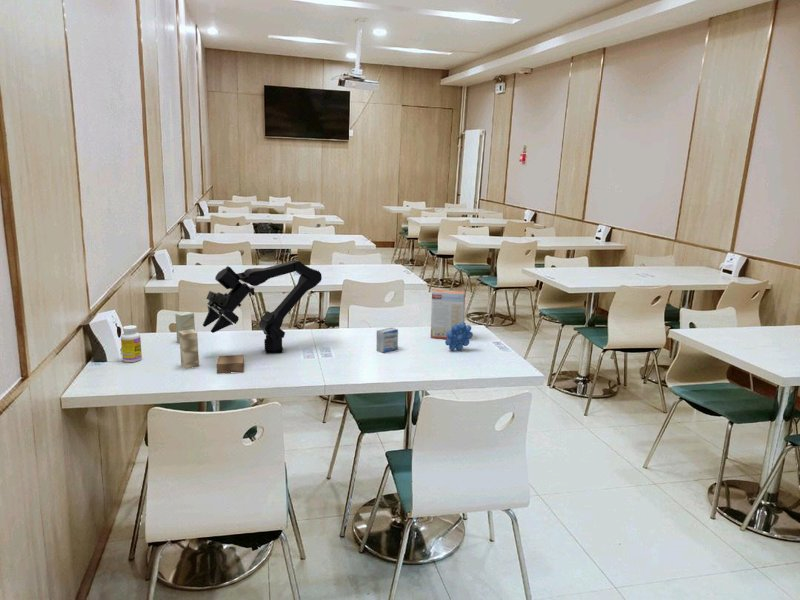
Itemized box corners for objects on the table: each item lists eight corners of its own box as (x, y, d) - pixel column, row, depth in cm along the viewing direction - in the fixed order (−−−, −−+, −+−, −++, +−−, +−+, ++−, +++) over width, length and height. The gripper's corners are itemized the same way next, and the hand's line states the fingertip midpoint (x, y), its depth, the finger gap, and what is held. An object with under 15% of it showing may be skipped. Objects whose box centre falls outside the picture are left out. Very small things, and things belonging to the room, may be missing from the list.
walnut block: (244, 364, 219) (244, 354, 218) (243, 373, 211) (243, 362, 210) (219, 366, 217) (218, 355, 216) (217, 374, 209) (216, 364, 208)
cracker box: (463, 337, 259) (466, 291, 254) (462, 341, 253) (464, 293, 249) (432, 334, 262) (434, 288, 257) (430, 338, 256) (431, 291, 252)
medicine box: (383, 353, 235) (383, 332, 233) (376, 350, 238) (376, 330, 236) (397, 349, 240) (398, 329, 238) (390, 346, 243) (391, 326, 241)
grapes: (468, 346, 246) (469, 319, 243) (473, 351, 240) (475, 323, 237) (441, 347, 243) (443, 320, 241) (446, 353, 237) (448, 324, 234)
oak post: (194, 362, 219) (192, 329, 216) (199, 366, 215) (197, 332, 212) (181, 365, 216) (179, 331, 213) (185, 369, 212) (183, 334, 209)
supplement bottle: (136, 363, 217) (133, 329, 214) (119, 362, 217) (116, 329, 214) (145, 357, 223) (142, 324, 220) (128, 356, 224) (125, 324, 221)
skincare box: (182, 344, 240) (180, 315, 237) (176, 342, 242) (174, 313, 239) (196, 341, 244) (194, 312, 242) (190, 338, 247) (188, 311, 244)
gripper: (211, 279, 223) (183, 310, 220) (228, 288, 209) (199, 322, 205) (232, 296, 230) (205, 327, 226) (250, 307, 215) (222, 340, 211)
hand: (207, 329), depth 217 cm, fingers open, 9 cm apart
